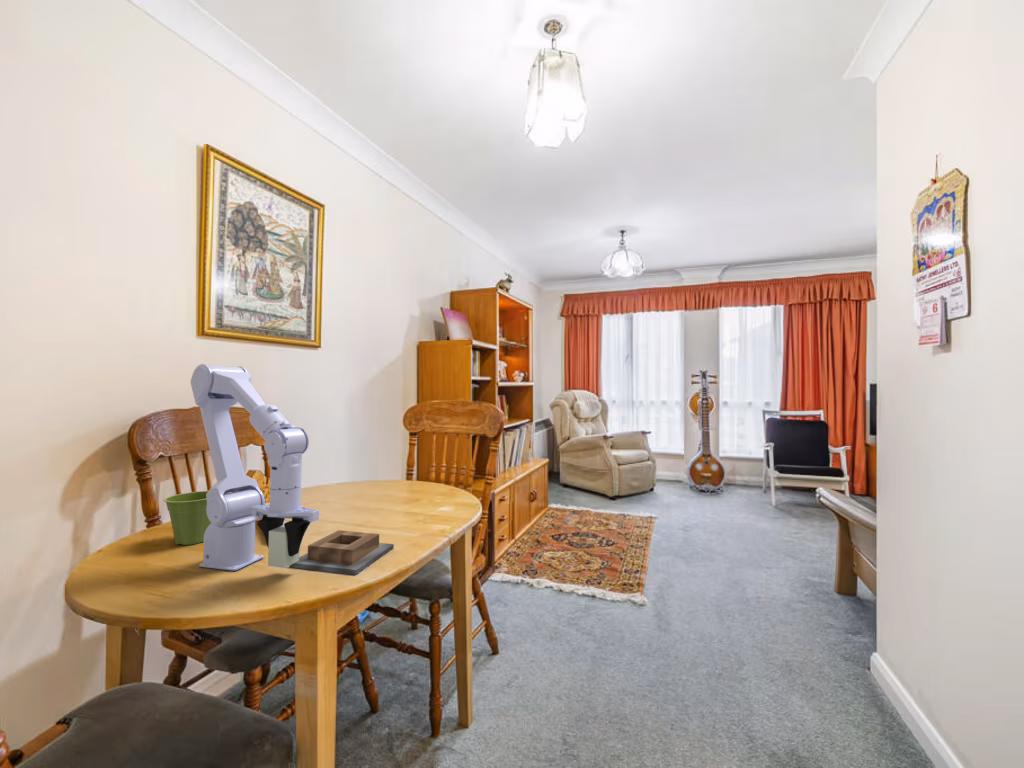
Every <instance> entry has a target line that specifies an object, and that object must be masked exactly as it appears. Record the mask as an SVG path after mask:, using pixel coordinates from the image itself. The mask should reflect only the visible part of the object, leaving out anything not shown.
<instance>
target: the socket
mask: <svg viewBox="0 0 1024 768" xmlns="http://www.w3.org/2000/svg"><path fill="white" fill-rule="evenodd" d="M394 545H395V544H394V543H386V542H380V534H379V533H371V532H370V533H369V532H362V531H361V532H360V531H352V530H351V531H350V530H349V531H348V530H339V529H338V530H336V531H334V532H332V533H331V534H328V535H326V536H325V537H322V538H320V539H318V540H316V541H314V542H312V543H310V544H308V545H307V553H305V554H303V555H301V556H299V561H297V562H295V563H293V564H292V565H290V566H288V567H289V568H294V569H302V570H310V571H311V570H312V571H320V572H328V573H336V574H346V575H354V576H356V575H358V574H359V573H361V572H362V571H364V570H365V569H367V568H368V567H370V566H371V565H373V563H375V562H377V561H378V560H379V559H381V558H382V557H383V556H385V555H387V554H388V553H389V552H390V550H391V551H393V550H394V549H395V546H394Z"/></svg>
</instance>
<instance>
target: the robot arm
mask: <svg viewBox="0 0 1024 768" xmlns="http://www.w3.org/2000/svg"><path fill="white" fill-rule="evenodd" d="M190 386H191V390H192V395H193V398H194V403H195V405H196V406H197V407H199V409H200V415H201V420H202V424H203V427H204V431H205V435H206V440H207V444H208V448H209V452H210V456H211V462H212V465H213V468H214V473H215V478H216V482H215V484H213V485H212V486H211V487H210V488H209V490H207V491H208V492H207V494H206V497H207V508H206V512H207V516H208V519H209V520H210V521H211V522H212V523H211V524H210V525H209V526H208V527H207V529H206V531H205V533H204V541H202V542H203V547H202V548H203V549H202V551H203V553H202V563H200V564H199V566H198V567H201V568H207V569H217V570H223V571H224V570H226V571H233V572H234V571H239V570H240V569H242V568H245V567H247V566H249V565H251V564H253V563H255V562H258V561H259V560H262V559H263V558H264V557H265V556H264V555H263V554H256V553H255V543H256V525H257V526H258V528H259V529H260V531H261V532H262V534H263V536H264V538H265V542H266V545H267V549H268V548H269V531H270V530H273V529H275V528H278V527H280V526H283V523H284V520H285V521H286V519H290V521H286V523H284V527H285V529H286V533H287V538H288V554H289V556H294V555H296V554H298V552H299V553H300V548H301V543H302V541H303V539H304V536H305V533H306V531H307V529H308V527H309V526H310V524H311V523H314V522H315V521H318V520H319V518H320V517H319V516H320V509H313V508H310V507H306V506H303V505H301V500H302V499H301V497H302V496H301V495H302V494H301V493H302V467H303V466H302V463H303V461H302V458H303V454H304V453H305V452H306V451H307V450H308V447H309V443H310V441H309V435H308V434H307V432H306V430H305V428H304V427H302V426H295V425H294V424H293V425H292V424H291V423H290V422H289V420H287V418H286V417H285V416H284V415H283V413H282V412H280V411H279V408H278V407H277V405H273V404H269V403H268V404H266V403H265V401H264V400H263V398H261V396H260V394H259V393H258V392H257V390H256V389H255V388H254V386H253V385H252V375H251V373H250V372H248V370H247V368H245V367H244V366H227V365H226V366H225V365H210V364H201V363H200V364H198V365H197V366H196V367H195V369H194V370H193V372H192V376H191V378H190ZM237 403H238V404H239V405H240V406H242V407H243V409H245V410H246V411H247V412H248V414H249V418H248V421H249V423H250V424H251V426H252V427H253V428H254V430H255V431H256V432H257V433H258V434H259V436H260V437H261V438H262V439H263V440H264V442H263V448H264V452H265V454H266V457H267V464H268V465H267V466H269V467H270V468H269V469H270V475H269V503H270V504H269V505H265V503H266V500H265V496H264V493H263V492H262V490H261V489H260V487H259V484H258V481H257V480H256V479H254V478H252V477H250V476H249V475H247V474H245V470H244V467H243V462H242V459H241V455H240V450H239V446H238V443H237V439H236V434H235V431H234V426H233V422H232V418H231V414H230V408H231V407H232V406H234V405H237ZM258 516H263V518H262V520H259V518H258ZM256 520H258V521H257V522H256ZM256 523H257V524H256Z"/></svg>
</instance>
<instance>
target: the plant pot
mask: <svg viewBox="0 0 1024 768" xmlns="http://www.w3.org/2000/svg"><path fill="white" fill-rule="evenodd" d="M208 491H209V490H202V491H190V492H185V493H179V494H178V493H177V494H174V495H171V496H168V497H167V496H166V497H165V498H164V499H163V502H164V503H165V504H166V508H167V511H168V513H169V517H170V523H171V529H172V533H173V539H174V543H175V544H176V545H183V546H190V545H196V544H200V543H202V542H203V541H204V533H205V531H206V529H207V527H208V526H209V525H210V524H211V523H212V522H211V521H210V520H209V519H208V516H207V512H206V508H207V497H206V494H207V492H208Z"/></svg>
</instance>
